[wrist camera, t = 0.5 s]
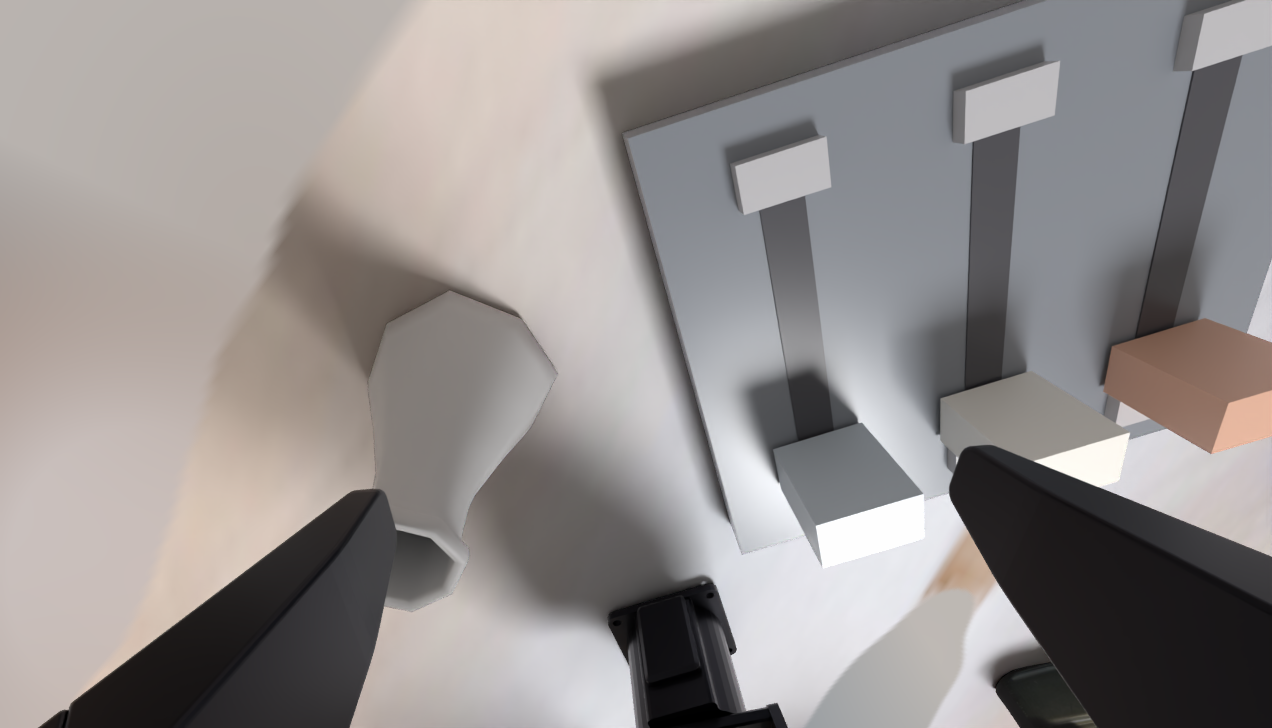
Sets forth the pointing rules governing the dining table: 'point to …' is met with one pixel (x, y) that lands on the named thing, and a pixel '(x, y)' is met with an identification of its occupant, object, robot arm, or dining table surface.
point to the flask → (447, 429)
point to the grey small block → (849, 495)
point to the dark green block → (1041, 699)
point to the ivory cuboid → (1036, 427)
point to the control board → (958, 225)
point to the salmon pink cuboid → (1198, 383)
